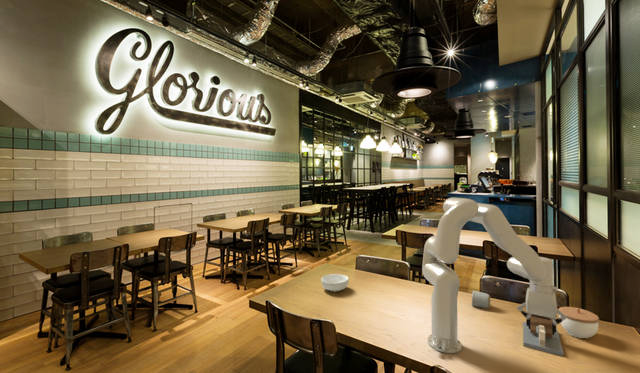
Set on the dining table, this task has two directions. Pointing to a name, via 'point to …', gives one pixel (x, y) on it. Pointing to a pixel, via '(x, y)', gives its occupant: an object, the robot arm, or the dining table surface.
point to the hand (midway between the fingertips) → (540, 330)
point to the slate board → (533, 342)
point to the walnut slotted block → (543, 321)
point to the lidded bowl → (579, 322)
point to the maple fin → (541, 335)
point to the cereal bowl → (334, 282)
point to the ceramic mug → (480, 299)
